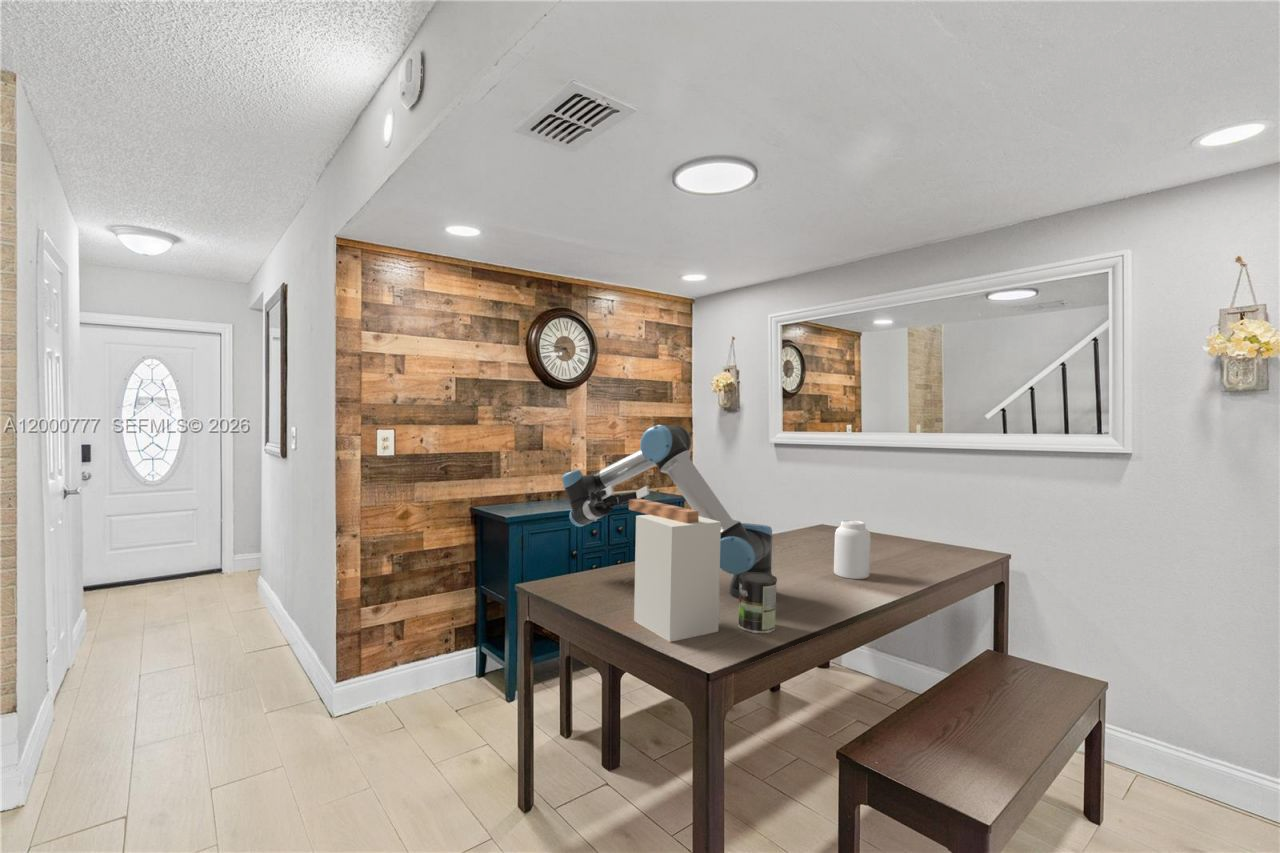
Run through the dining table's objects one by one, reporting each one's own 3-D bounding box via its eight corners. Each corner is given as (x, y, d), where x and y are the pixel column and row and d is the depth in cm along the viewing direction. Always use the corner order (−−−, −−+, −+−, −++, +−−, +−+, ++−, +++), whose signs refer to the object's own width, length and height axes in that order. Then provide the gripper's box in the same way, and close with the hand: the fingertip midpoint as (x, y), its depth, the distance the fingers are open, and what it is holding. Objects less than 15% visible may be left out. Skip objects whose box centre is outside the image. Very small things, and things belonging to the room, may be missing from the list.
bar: (628, 509, 185) (628, 499, 185) (639, 508, 187) (639, 498, 187) (687, 523, 165) (687, 512, 164) (698, 522, 167) (698, 510, 167)
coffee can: (743, 634, 167) (744, 582, 167) (734, 620, 178) (735, 572, 177) (780, 633, 168) (781, 582, 168) (769, 620, 178) (770, 571, 178)
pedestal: (634, 620, 176) (636, 515, 175) (680, 612, 184) (682, 511, 183) (669, 642, 160) (672, 526, 159) (718, 631, 169) (720, 521, 168)
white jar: (874, 580, 223) (876, 525, 223) (839, 579, 223) (841, 524, 223) (862, 571, 236) (864, 518, 235) (829, 570, 236) (831, 518, 235)
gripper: (630, 516, 219) (664, 500, 202) (566, 518, 205) (598, 501, 189) (627, 496, 221) (660, 478, 205) (564, 496, 207) (594, 477, 191)
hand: (630, 489), depth 197 cm, fingers open, 13 cm apart
